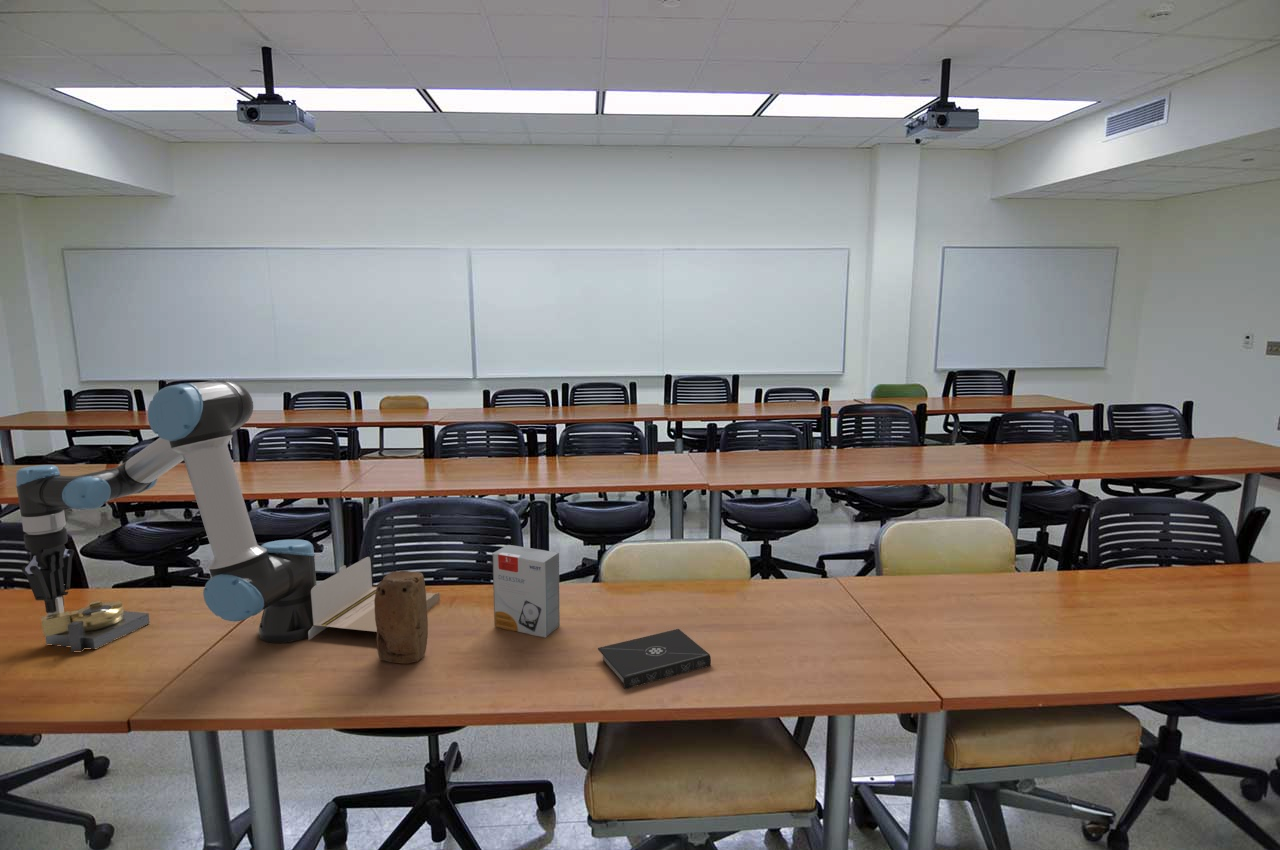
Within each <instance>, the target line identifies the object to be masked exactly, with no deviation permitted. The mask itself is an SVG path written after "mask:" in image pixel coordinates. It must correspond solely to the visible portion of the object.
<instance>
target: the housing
mask: <svg viewBox="0 0 1280 850" xmlns="http://www.w3.org/2000/svg"><path fill="white" fill-rule="evenodd" d="M123 611H124V618H123V619H122V620H121V621H119V622H117V623H115V624H113V625H110V626H107V627H104V628H100V629H96V630H90V631H84V624H83V621H73V622H72V623H70V624H69V625H68V631H67V632H63V633H58V634H54V635H50V636H46V637H45V642H46V643H45V644H46V645H47V644H52V645H61V646H71V648H70V652H74V651H82V650H83V649H84V648H91V649H95V648H98V647H100V646H102V645H104V644H106V643H109V642H111V641H113V640H114V639H116V638H119V637H121V636H123V635H125V634H128V633H130V632H132V631H134V630H136V631H138V630H137V629H138V628H140V627H142V626H145V625H146V624H149V623H150V616H149V615H150V614H149V612H138V611H129V610H123ZM149 625H150V624H149ZM145 627H146V626H145ZM134 632H135V631H134ZM132 633H133V632H132ZM130 634H131V633H130ZM128 635H129V634H128ZM113 642H114V641H113ZM111 643H112V642H111ZM109 644H110V643H109ZM82 652H83V651H82Z"/></svg>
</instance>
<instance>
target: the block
mask: <svg viewBox="0 0 1280 850" xmlns="http://www.w3.org/2000/svg"><path fill="white" fill-rule="evenodd" d="M376 587H377V589H376V593H375V599H374V605H375V621H376V627H377V632H376V643H377V644H376V649H377V654H378V655H377V656H378V658H379V659H380V660H381V661H384V662H385V661H387V662H388V663H394V664H412V663H414V662H415V663H417V662H418V661H420V660H421V659H422V658H423V657H424V656H425V654H426V651H427V645H428V638H429V635H428V634H429V621H428V620H429V619H428V610H427V602H426V593H427V592H426V591H427V590H426V583H425V577H424V574H423V573H422V572H419V571H410V570H399V571H398V570H396V571H392V572H389V573H388V574H385V576H384V577H383V579H382V580H380V581H379V582H378V584H377V586H376Z"/></svg>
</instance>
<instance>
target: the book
mask: <svg viewBox="0 0 1280 850" xmlns="http://www.w3.org/2000/svg"><path fill="white" fill-rule="evenodd" d="M597 651H599V652H600V653H601V655H602V659H603V661H604V662H605V663H606V664H607V666H608V667H609V668H610V669H611V670H612V672H613V673H615V674H616V676H617V677H618V678H619V680H621V682H622V683H623V689H624V690H626V689H630V688H634V687H637V685H638V686H642V685H645V684H649V683H653V682H655V681H659V679H660V680H663V678H664V679H666V677H667V678H669V677H670V678H671V677H674V676H677V674H678V675H682V674H685V673H689V672H693V671H696V670H699V668H700V669H702V667H704V668H706V666H707V667H710V666H711V665H712V663H711V659H712V657H711V655H710V653H708V652H707V650H705V649H704V648H703V647H701V646H700V645H699V644H697V642H696V641H694V640H693V639H692V638H691V637H689V636H688V635H687V634H686V633H685V632H683V631H682V630H681V629H679V628H676V629H671V630H667V631H664V632H659V633H655V634H651V635H646V636H642V637H639V638H638V637H637V638H634V639H629V640H626V641H622V642H621V641H620V642H616V643H613V644H608V645H605V646H600V647H597ZM692 670H693V671H692ZM688 671H689V672H688ZM681 673H682V674H681ZM652 681H653V682H652ZM648 682H649V683H648ZM644 683H645V684H644ZM641 684H642V685H641Z"/></svg>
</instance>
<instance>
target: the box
mask: <svg viewBox="0 0 1280 850" xmlns="http://www.w3.org/2000/svg"><path fill="white" fill-rule="evenodd" d="M372 578H373V577H372V564H371V557H370V556H367V557H364V558H362V559H360V560H359V561H357V562H355V563H353V564H352V565H351V564H350V566H348V567H347V565H342V566H341V567H339V568H338V572H337V573H334V574H333V575H331V576H330V577H328V578H326V579H324V580H323V581H320V582H319V583H316V585H315V586H314V587H313V588H312V589H311V601H312V614H313V625H314V626H312V628H311V629H310V630H309V631H308V637H307V638H308V641H310V640H312V639H313V638H314V637H315V636H317V635H319V634H320V633H321V632H322V631H324V630H326V629H327V628H337V629H346V630H356V631H364V632H365V631H367V632H374V633H375V632H376V633H377V627H376V621H375V605H374V599H375V593H376V589H377V586H376V587H373V579H372ZM439 601H440V592H437V593H436V592H435V593H434V592H433V593H432V592H426V602H427V611H428V610H430V609H431V608H432V607H433V606H435V605H436V604H437V603H438V602H439Z"/></svg>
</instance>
